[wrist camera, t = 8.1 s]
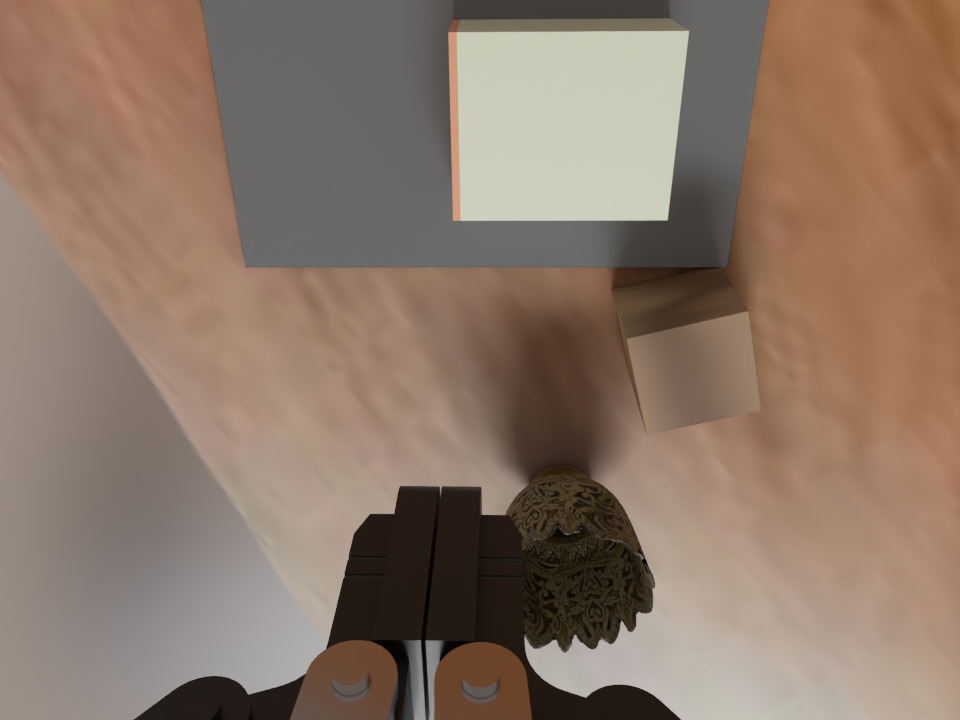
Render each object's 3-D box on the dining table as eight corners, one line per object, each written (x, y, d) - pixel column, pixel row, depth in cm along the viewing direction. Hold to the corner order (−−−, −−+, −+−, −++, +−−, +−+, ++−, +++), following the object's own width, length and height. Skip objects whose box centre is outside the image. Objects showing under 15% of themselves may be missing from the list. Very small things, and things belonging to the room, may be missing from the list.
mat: (774, -55, 30) (777, -55, 30) (724, 263, 37) (727, 267, 36) (196, -51, 31) (193, -51, 30) (248, 264, 37) (245, 267, 37)
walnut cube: (718, 262, 37) (748, 311, 33) (731, 354, 39) (760, 410, 35) (611, 288, 38) (626, 339, 33) (630, 376, 40) (646, 434, 36)
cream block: (452, 19, 31) (670, 18, 31) (456, 193, 35) (652, 192, 35) (448, 32, 28) (689, 30, 28) (453, 220, 32) (667, 220, 32)
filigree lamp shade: (467, 462, 43) (461, 571, 36) (594, 408, 41) (614, 512, 34) (529, 555, 46) (536, 672, 39) (649, 509, 44) (678, 623, 37)
